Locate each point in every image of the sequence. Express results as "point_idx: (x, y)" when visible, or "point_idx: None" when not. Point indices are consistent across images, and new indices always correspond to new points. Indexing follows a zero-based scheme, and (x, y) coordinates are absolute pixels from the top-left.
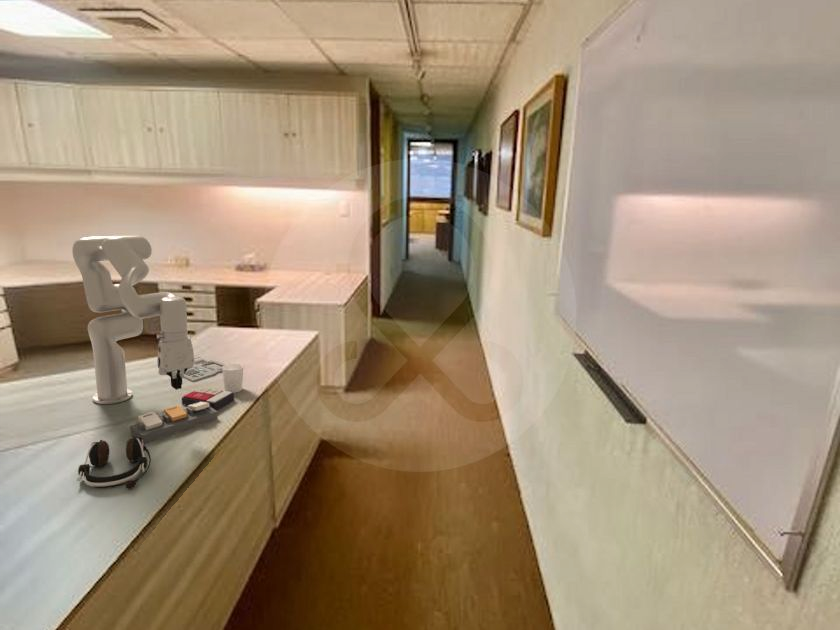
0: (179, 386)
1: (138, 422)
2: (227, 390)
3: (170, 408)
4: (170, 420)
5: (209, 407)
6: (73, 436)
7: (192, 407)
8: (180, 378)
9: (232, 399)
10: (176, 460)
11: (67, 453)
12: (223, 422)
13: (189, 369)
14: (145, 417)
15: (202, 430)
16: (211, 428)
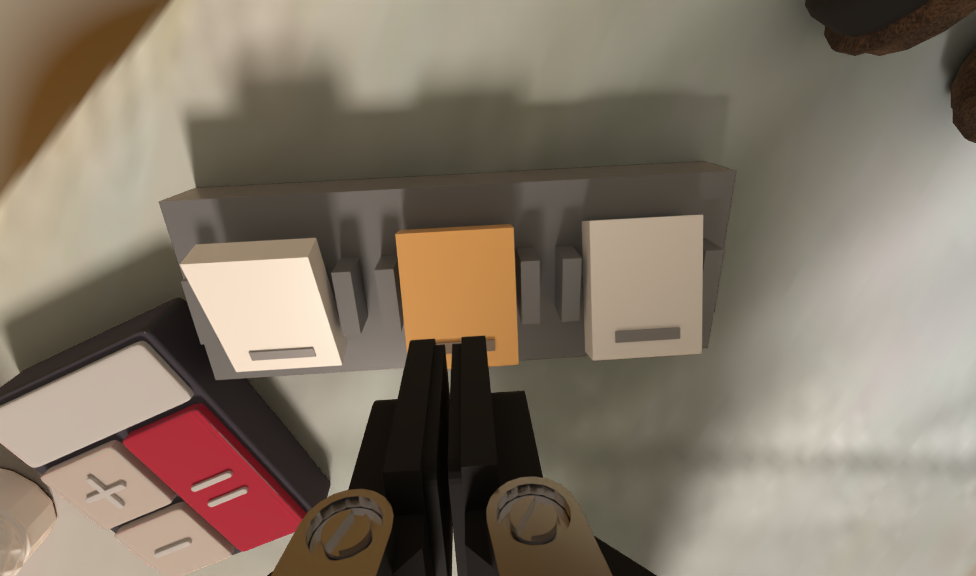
0: (437, 360)
1: (707, 306)
2: (31, 500)
3: None
4: None
5: None
6: (854, 440)
7: (324, 297)
8: (401, 456)
9: (21, 375)
10: None
11: (972, 302)
12: (170, 106)
13: None
14: (669, 319)
15: (344, 86)
16: (278, 71)
